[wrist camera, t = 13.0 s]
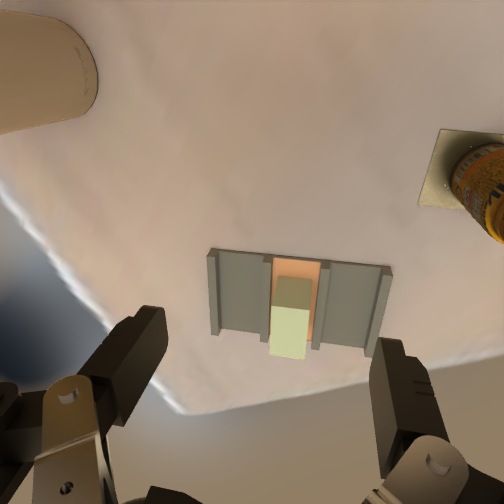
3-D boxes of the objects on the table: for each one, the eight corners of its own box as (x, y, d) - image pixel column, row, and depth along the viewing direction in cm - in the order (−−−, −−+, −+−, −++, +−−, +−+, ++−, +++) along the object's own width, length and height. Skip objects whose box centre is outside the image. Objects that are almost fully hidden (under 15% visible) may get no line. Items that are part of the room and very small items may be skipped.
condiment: (507, 213, 34) (585, 280, 24) (417, 203, 36) (453, 262, 25) (541, 137, 31) (649, 176, 20) (439, 128, 32) (493, 161, 22)
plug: (276, 321, 45) (269, 354, 40) (278, 275, 42) (271, 305, 37) (307, 325, 45) (304, 359, 40) (312, 279, 41) (309, 310, 36)
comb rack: (215, 325, 48) (211, 334, 47) (211, 248, 43) (206, 256, 41) (371, 346, 45) (373, 357, 43) (390, 266, 39) (392, 276, 38)
